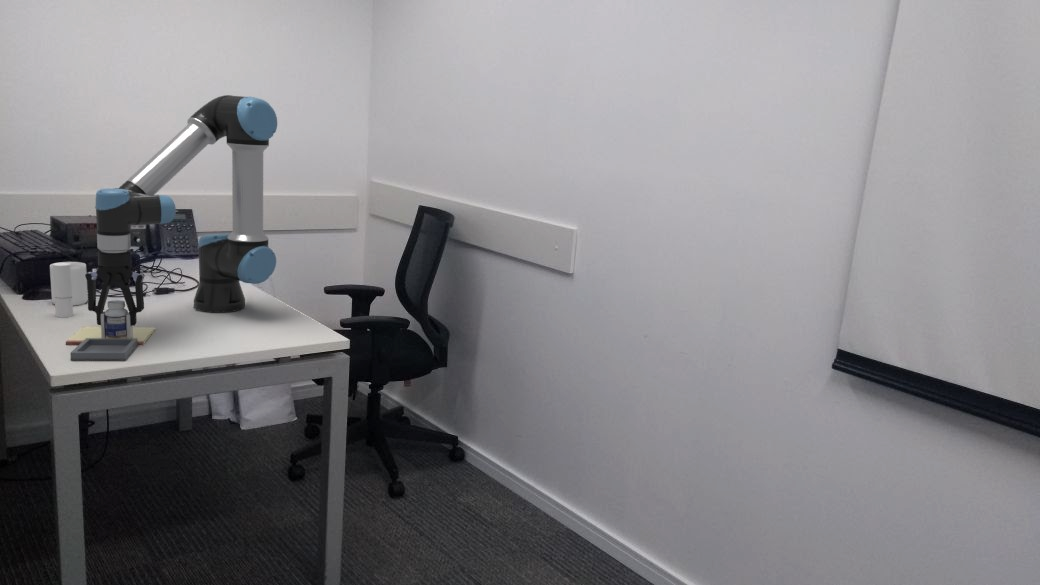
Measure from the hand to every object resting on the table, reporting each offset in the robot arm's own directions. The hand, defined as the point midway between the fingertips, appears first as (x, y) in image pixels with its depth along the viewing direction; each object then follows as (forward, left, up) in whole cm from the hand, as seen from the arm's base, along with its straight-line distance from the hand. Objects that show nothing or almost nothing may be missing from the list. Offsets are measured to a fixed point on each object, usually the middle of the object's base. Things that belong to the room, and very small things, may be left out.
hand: (117, 336), depth 203 cm
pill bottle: (0, 0, -1) cm, 1 cm away
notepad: (+2, -3, -1) cm, 4 cm away
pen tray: (0, +10, -1) cm, 10 cm away
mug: (+23, -40, -1) cm, 46 cm away
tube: (+20, -24, -1) cm, 31 cm away
